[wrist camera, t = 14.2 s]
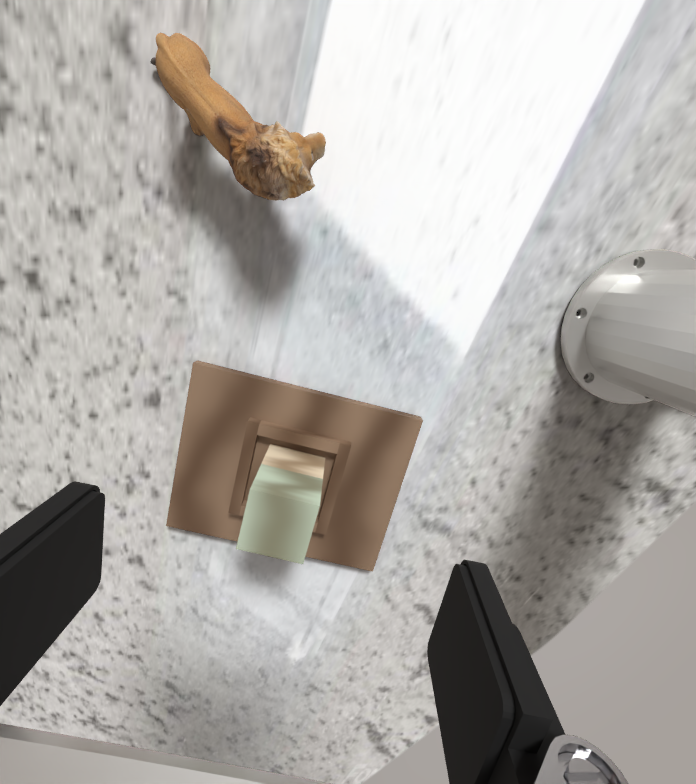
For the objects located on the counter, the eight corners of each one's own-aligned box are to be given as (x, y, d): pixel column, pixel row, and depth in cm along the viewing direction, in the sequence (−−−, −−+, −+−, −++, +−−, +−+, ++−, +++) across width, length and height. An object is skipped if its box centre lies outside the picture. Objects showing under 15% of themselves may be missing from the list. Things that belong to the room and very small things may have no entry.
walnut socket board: (420, 416, 37) (424, 424, 35) (372, 564, 41) (373, 578, 39) (197, 360, 35) (188, 365, 33) (170, 519, 40) (161, 532, 38)
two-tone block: (325, 457, 37) (319, 505, 29) (311, 505, 38) (302, 564, 30) (270, 443, 36) (250, 489, 29) (258, 492, 38) (235, 548, 30)
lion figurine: (340, 173, 32) (337, 135, 23) (298, 232, 33) (281, 217, 24) (173, 30, 29) (100, -73, 20) (135, 100, 30) (50, 30, 22)
